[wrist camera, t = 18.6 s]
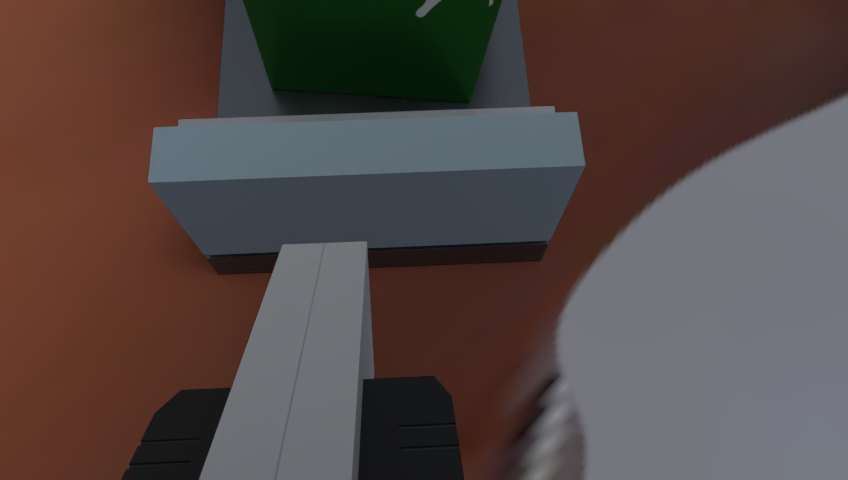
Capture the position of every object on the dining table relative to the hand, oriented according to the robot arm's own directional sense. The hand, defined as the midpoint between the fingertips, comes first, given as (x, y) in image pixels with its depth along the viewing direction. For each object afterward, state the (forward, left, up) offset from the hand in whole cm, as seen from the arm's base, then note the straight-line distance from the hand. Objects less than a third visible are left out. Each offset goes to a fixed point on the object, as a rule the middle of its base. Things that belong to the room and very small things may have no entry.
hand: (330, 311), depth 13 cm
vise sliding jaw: (-5, -1, -8) cm, 10 cm away
